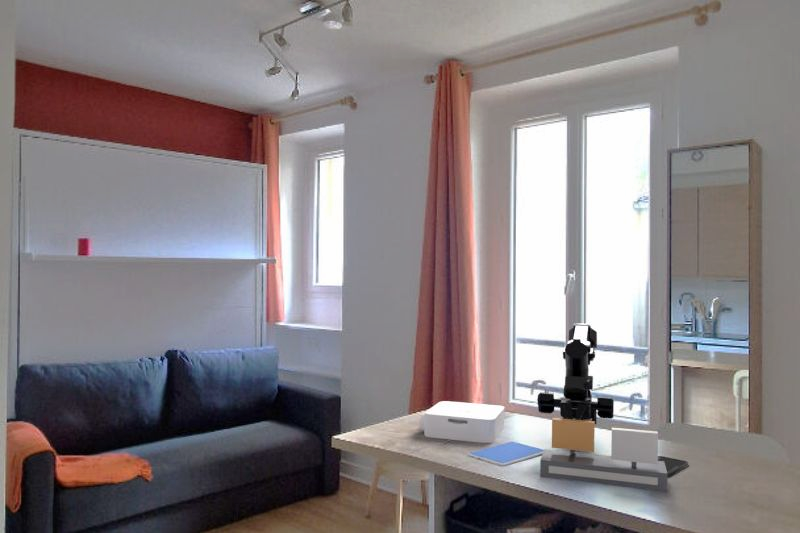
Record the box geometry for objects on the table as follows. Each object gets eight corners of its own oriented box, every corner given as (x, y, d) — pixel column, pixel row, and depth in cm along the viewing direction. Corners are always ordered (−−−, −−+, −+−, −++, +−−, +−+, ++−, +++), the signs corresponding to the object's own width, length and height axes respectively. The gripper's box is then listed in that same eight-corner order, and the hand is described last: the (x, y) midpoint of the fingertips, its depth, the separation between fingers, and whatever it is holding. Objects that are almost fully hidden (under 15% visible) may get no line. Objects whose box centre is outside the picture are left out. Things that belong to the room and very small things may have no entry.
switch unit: (544, 464, 163) (544, 448, 163) (663, 478, 154) (664, 460, 154) (539, 476, 153) (540, 459, 153) (667, 491, 144) (667, 473, 144)
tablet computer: (503, 468, 161) (503, 463, 161) (465, 457, 170) (465, 452, 170) (548, 455, 174) (548, 450, 174) (511, 445, 183) (511, 440, 183)
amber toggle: (552, 449, 161) (552, 417, 161) (594, 454, 158) (594, 421, 158) (551, 451, 159) (552, 419, 159) (593, 456, 156) (594, 423, 156)
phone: (636, 467, 160) (659, 455, 171) (636, 472, 160) (658, 459, 171) (668, 474, 154) (690, 461, 165) (668, 479, 154) (689, 466, 165)
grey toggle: (611, 461, 152) (611, 427, 152) (656, 466, 148) (657, 431, 149) (611, 463, 150) (611, 429, 150) (657, 468, 147) (657, 433, 147)
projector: (436, 421, 209) (436, 400, 209) (505, 428, 202) (505, 406, 202) (417, 436, 189) (417, 413, 189) (493, 444, 182) (493, 420, 182)
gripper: (538, 361, 168) (533, 411, 157) (614, 365, 162) (613, 418, 152) (541, 386, 175) (536, 436, 165) (613, 392, 170) (612, 444, 159)
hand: (573, 433), depth 160 cm, fingers closed
